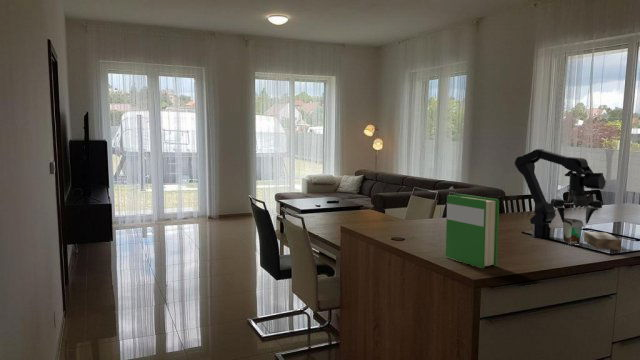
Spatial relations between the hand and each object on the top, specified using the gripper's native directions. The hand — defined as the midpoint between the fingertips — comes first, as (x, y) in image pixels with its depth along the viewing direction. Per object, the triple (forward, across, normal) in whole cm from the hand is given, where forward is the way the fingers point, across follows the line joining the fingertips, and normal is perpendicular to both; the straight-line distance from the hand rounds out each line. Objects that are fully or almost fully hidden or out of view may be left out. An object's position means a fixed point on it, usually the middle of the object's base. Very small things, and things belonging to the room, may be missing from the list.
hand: (574, 223), depth 195 cm
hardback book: (+9, -47, -42) cm, 64 cm away
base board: (+9, +10, -2) cm, 14 cm away
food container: (+9, 0, 0) cm, 9 cm away
